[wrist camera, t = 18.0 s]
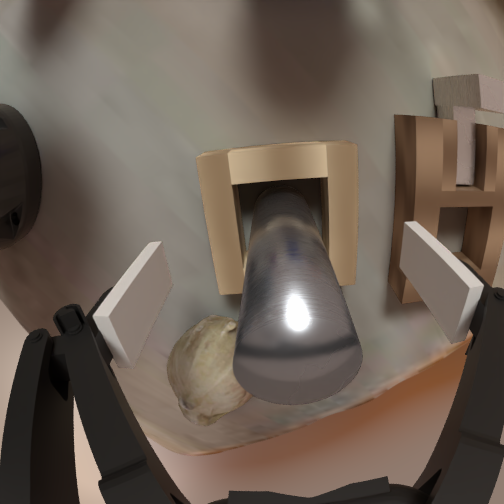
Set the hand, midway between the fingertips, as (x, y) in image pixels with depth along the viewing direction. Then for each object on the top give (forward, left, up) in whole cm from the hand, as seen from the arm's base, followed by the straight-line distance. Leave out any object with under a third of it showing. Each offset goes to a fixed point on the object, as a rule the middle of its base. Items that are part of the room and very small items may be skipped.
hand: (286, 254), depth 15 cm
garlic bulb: (-6, -12, -8) cm, 15 cm away
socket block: (+14, 0, -7) cm, 16 cm away
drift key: (+14, +6, -7) cm, 17 cm away
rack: (0, 0, -7) cm, 7 cm away
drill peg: (0, 0, -7) cm, 7 cm away
